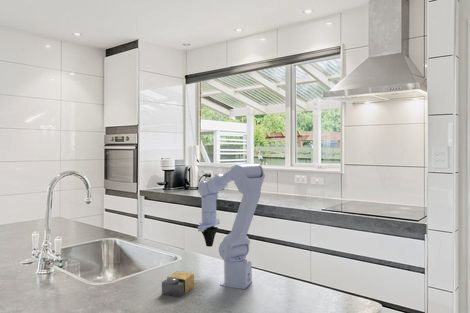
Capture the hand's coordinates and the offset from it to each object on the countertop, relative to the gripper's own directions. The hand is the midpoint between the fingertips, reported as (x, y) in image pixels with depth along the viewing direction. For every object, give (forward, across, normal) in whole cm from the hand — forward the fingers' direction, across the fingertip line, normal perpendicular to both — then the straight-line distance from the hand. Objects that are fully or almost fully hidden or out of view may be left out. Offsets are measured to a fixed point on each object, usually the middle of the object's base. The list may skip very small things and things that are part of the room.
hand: (209, 246), depth 143 cm
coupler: (+10, +22, -1) cm, 24 cm away
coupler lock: (+10, +20, -1) cm, 22 cm away
